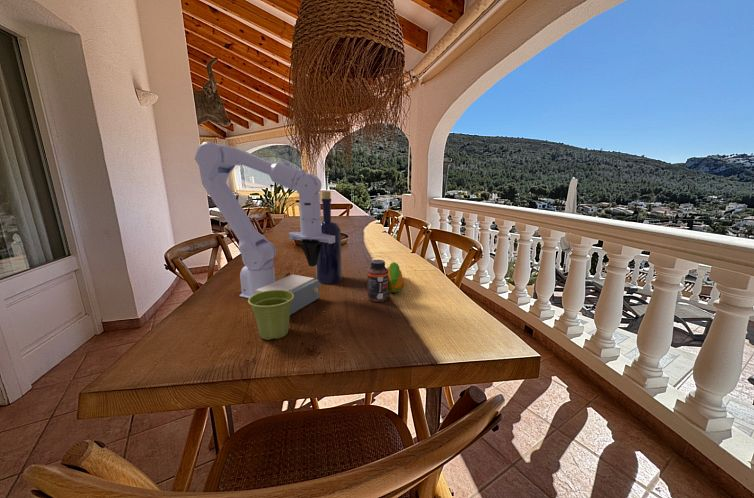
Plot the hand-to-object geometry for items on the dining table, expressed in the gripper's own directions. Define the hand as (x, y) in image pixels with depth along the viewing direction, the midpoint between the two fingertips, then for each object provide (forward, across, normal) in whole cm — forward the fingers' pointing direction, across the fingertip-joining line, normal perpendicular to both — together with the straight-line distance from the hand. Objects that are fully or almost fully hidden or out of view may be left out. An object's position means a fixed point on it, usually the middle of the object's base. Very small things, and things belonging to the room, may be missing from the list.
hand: (312, 265), depth 85 cm
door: (+9, +2, -9) cm, 13 cm away
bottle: (+10, -4, +14) cm, 17 cm away
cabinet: (+9, -3, -8) cm, 13 cm away
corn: (+10, +18, +18) cm, 27 cm away
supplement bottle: (+10, +18, +6) cm, 21 cm away
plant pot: (+10, +5, -22) cm, 24 cm away
